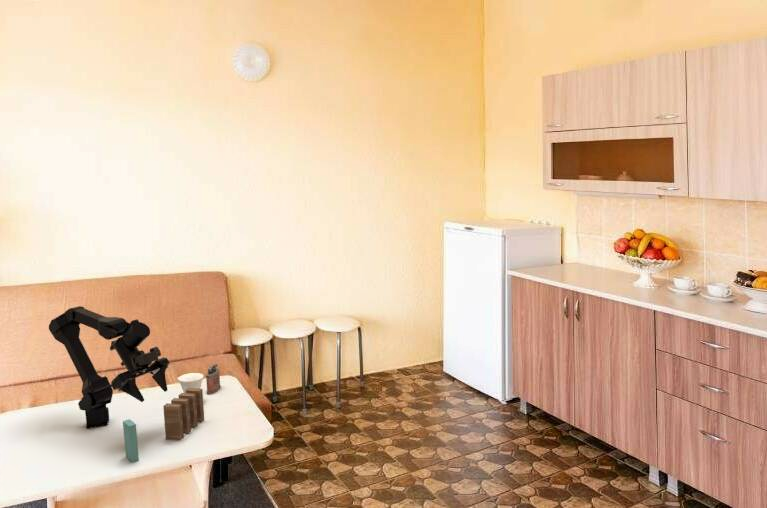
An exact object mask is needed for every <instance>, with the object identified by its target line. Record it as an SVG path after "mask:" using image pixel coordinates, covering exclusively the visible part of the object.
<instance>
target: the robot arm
mask: <svg viewBox="0 0 767 508" xmlns="http://www.w3.org/2000/svg"><path fill="white" fill-rule="evenodd" d="M81 324H82V325H83V326H85V327H88V328H91V329H94V330H96V331H97V333H98V336H100V337H102V338H104V339H105V340H108V341H109V340H112V339H115V338H117V339H115V340H113V341H111V342H110V343H111V344H110V346H109V350H110V351H114V350H115V351H116V353H117V355H118V356H119V359H120V360H121V361H122V362H121V363H120V365H121V367H124V366H125V368H126V370H125V371H123V372H121V373H118V374H117V375H115V377H114V378H113V379H112V380H111V381H109V379H108V377H107V376H101V375H99V374H98V371H96V368H95V366H94V364H93V362H92V360H91V358H90V356H89V355H88V353H87V350H86V348H85V346H84V344H83V343H82V340H81V338H80V333H81V327H80V325H81ZM48 330H49V332H50V333H51V335H52V336H53V338H54V340H56V341H57V342H59V343H61V344H63V346H64V347H65V350H66V351H67V353H68V355H69V358H70V359H71V362H72V363H73V366H74V367H75V370H76V372H77V373H78V376H79V377H80V379H81V382H82V385H81V393H82V398H81V399H80V400H79V402H78V404H77V405H78V408H79V410H81V411H84V413H85V423H86V424H85V429H87V430H88V429H93V428H94V429H95V428H98V427H99V428H101V427H105V426H108V425H109V422H110V412H109V411H110V410H109V407H108V406H107V405H108V404H111V403H112V399H113V394H114V391H116V390H118V392H123V393H125V394H127V395H129V396H131V397H133V398H134V399H135V400H137V401H139V402H141V403H143V402H144V401H145V398H144V396H143V394H142V392H141V390H140V389H139V388H138V385H137V381H136V379H137V378H140V377H142V376H145V375H146V374H151V375H152V376H151V378H152V380H154V382H156V385H158V386H159V387H160V389H161V390H162V391H164V393H165V392H167V391H168V389H169V388H168V386H167V380H166V379H167V378H166V371H167V369H168V368H169V365H170V364H171V363H170V361H169V359H168V358H167V357H165V356H163V357H161V356H162V352H161V350H160V349H159V347H158V346H155V347H152V348H149V352H146V353H145V351H144V350H142V349H141V350H139V348H138V347H139V346H140V345H141V344H142V343H143V342H144V341H145V340H147V338H149V336H150V334H151V329H150V327H149V326H148V325H147V324H145V323H143V322H141V321H139V319H133V320H131V321H130V322H128V321H126V319H124V318H123V317H119V316H104V315H102V314H99V313H96V312H94V311H92V310H89V309H86V308H85V307H84V306H81V305H79V306H73V307H71V308H68V309H67V310H66V311H64V312H63V313H62V314H60V315H58V316H56V317H55V318H53V319H51V321H50V322H49V324H48ZM159 357H161V358H159Z"/></svg>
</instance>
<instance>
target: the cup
mask: <svg viewBox="0 0 767 508" xmlns="http://www.w3.org/2000/svg"><path fill="white" fill-rule="evenodd" d="M204 378H205V376H204V374H203V373H199V372H191V373H185V374H182V375H180V376H178V377H177V378H176V381H177V382H178V383H179V384H180V387H181V389H182V393H186V390H187V389H188V388H196V389H202V383H203V380H204Z"/></svg>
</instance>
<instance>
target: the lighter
mask: <svg viewBox="0 0 767 508" xmlns="http://www.w3.org/2000/svg"><path fill="white" fill-rule="evenodd" d="M217 367H218V363H216V362H215V363H213V364H212V365H209V366H208V367H207V372H206V373H205V380H206V395H209V396H211V395H214V394H216V393H217V392H218V390H219V391H220V390H221V387H222V385H221V378H220V373H221V369H220V368H217Z"/></svg>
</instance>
